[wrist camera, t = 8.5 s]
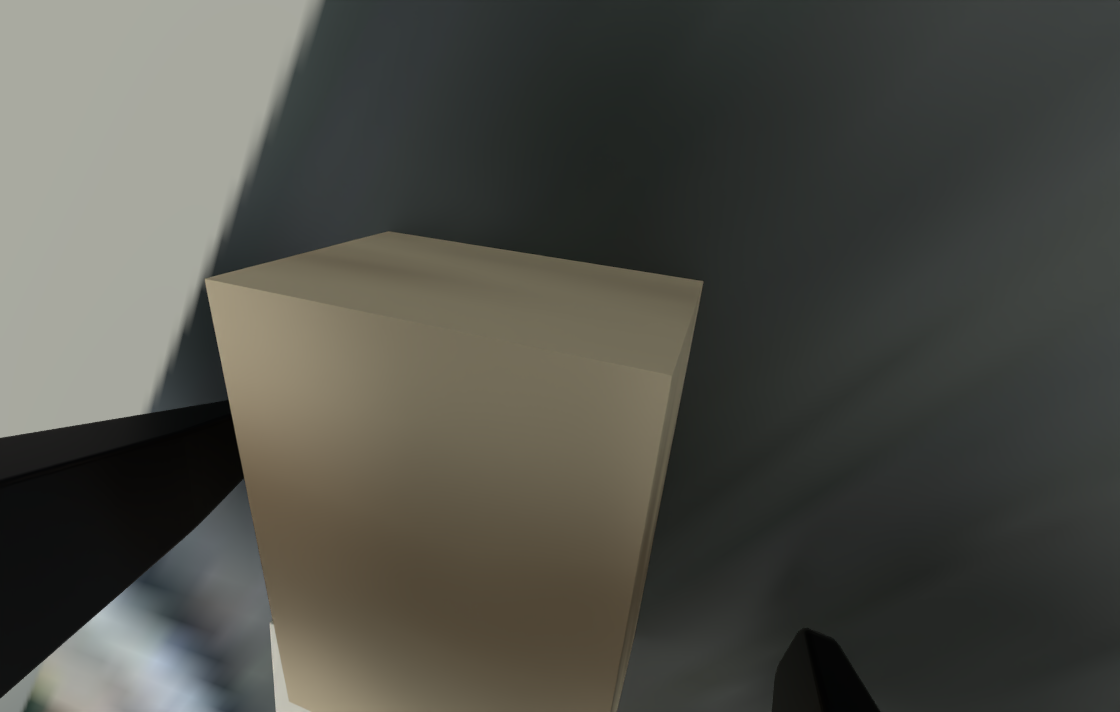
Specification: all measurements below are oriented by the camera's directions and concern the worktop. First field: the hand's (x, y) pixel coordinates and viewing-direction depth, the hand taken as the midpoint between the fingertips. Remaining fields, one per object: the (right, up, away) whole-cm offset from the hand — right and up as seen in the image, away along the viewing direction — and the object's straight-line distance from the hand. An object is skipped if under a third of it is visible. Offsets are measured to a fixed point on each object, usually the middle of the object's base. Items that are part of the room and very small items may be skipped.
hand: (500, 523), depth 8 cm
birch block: (0, +1, +1) cm, 2 cm away
